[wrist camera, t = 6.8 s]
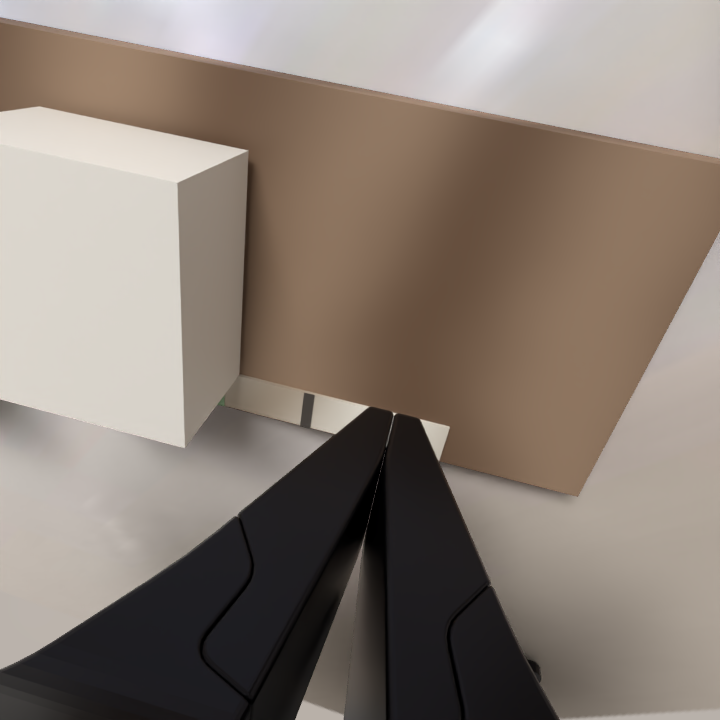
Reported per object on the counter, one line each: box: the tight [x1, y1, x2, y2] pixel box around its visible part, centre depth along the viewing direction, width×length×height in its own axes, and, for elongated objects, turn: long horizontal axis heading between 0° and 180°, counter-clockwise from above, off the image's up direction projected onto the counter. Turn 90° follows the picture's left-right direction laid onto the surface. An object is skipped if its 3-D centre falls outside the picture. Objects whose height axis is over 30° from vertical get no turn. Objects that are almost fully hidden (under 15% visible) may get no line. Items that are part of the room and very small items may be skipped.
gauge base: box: [0, 17, 720, 497], centre depth 14 cm, size 22×9×1 cm, turn 81°
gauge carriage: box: [0, 106, 248, 448], centre depth 13 cm, size 8×8×3 cm
